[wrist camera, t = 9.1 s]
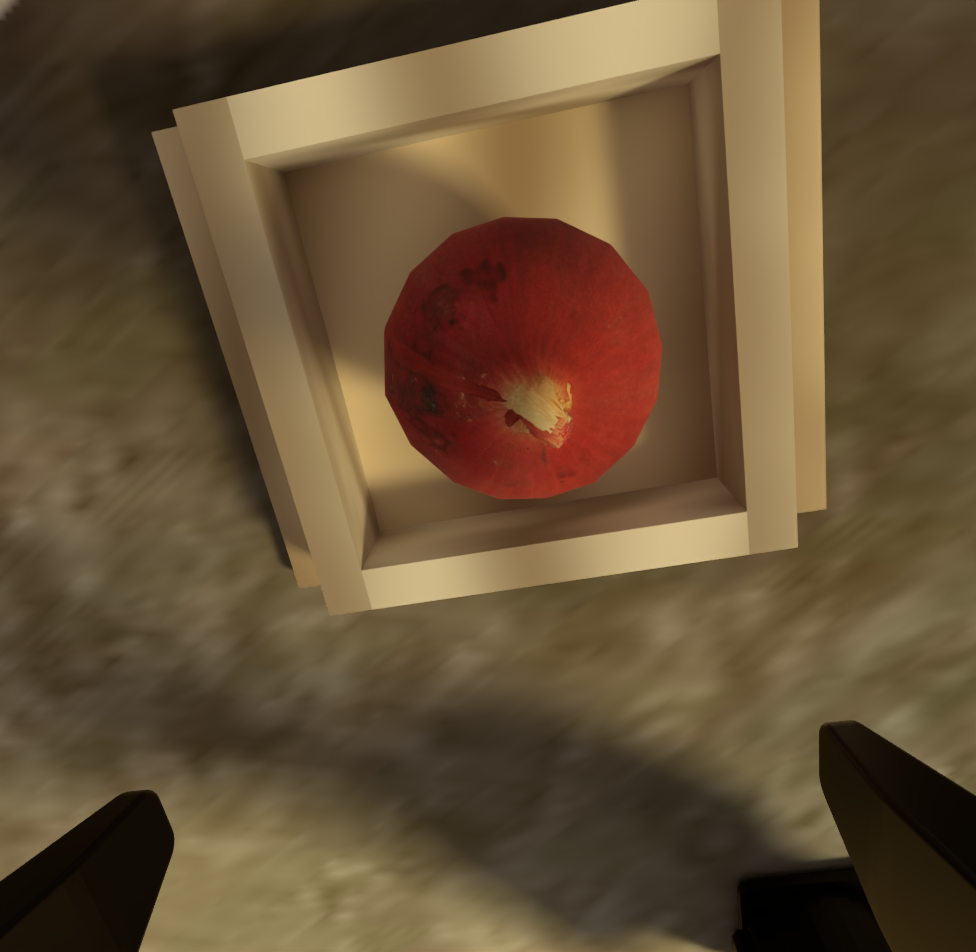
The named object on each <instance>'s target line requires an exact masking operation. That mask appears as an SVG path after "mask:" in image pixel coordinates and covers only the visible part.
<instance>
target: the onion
mask: <svg viewBox="0 0 976 952" xmlns="http://www.w3.org/2000/svg"><path fill="white" fill-rule="evenodd" d="M661 356H662V343H661V339H660V335H659V331H658V327H657V323H656V319H655V315H654V311H653V308H652V304H651V300H650V296H649V292H648V290H647V289H646V288H645V286H644V285H643V284H642V283H641V281H640V280H639V279H638V278H637V276H636V275H635V274H634V273H633V271H632V270H631V269H630V268H629V266H628V265H627V264H626V263H625V261H624V260H623V259H622V258H621V256H620V255H619V254H618V252H617V251H616V250H615V249H614V247H613V246H612V245H611V244H609V243H607V242H605V241H603V240H601V239H599V238H597V237H595V236H592V235H590V234H588V233H586V232H584V231H582V230H580V229H578V228H576V227H574V226H572V225H569V224H567V223H565V222H563V221H561V220H559V219H556V218H525V217H501V218H498V219H495V220H492V221H489V222H486V223H483V224H480V225H477V226H474V227H471V228H468V229H465V230H462V231H459V232H456V233H453V234H451V235H450V236H449V237H448V238H447V239H446V240H445V241H444V242H443V243H441V244H440V245H439V246H438V247H437V248H436V249H435V250H434V251H433V252H432V253H431V254H429V255H428V256H427V257H426V258H425V259H424V260H423V261H422V262H421V263H420V264H419V265H417V266H416V267H415V268H414V269H413V270H412V271H411V272H410V273H409V276H408V278H407V280H406V282H405V284H404V286H403V289H402V291H401V293H400V295H399V297H398V299H397V302H396V304H395V306H394V308H393V310H392V312H391V315H390V317H389V319H388V321H387V323H386V325H385V330H384V371H385V396H386V398H387V400H388V402H389V404H390V406H391V408H392V410H393V412H394V414H395V416H396V418H397V419H398V421H399V423H400V425H401V427H402V429H403V431H404V433H405V435H406V437H407V439H408V441H409V443H410V445H411V446H412V447H414V448H415V449H416V450H417V451H418V452H419V453H421V454H422V455H423V456H424V457H425V458H426V459H427V460H429V461H430V462H431V463H432V464H433V465H434V466H436V467H437V468H438V469H439V470H440V471H441V472H443V473H444V474H445V475H446V476H447V477H448V478H449V479H451V480H452V481H453V482H454V483H456V484H459V485H462V486H464V487H467V488H470V489H473V490H475V491H478V492H481V493H484V494H486V495H489V496H492V497H495V498H497V499H533V498H549V497H552V496H555V495H558V494H561V493H565V492H568V491H571V490H574V489H577V488H580V487H583V486H586V485H589V484H592V483H595V482H596V481H597V480H598V479H599V478H600V477H601V476H602V475H603V474H604V473H605V472H606V471H607V470H609V469H610V468H611V467H612V466H613V465H614V464H615V463H616V462H617V461H618V460H619V459H620V458H621V457H623V456H624V455H625V454H626V453H627V452H628V451H629V450H630V449H631V448H632V447H633V446H634V445H635V443H636V441H637V439H638V437H639V435H640V433H641V431H642V429H643V427H644V425H645V423H646V421H647V419H648V417H649V415H650V413H651V411H652V409H653V407H654V405H655V403H656V401H657V396H658V386H659V376H660V366H661Z"/></svg>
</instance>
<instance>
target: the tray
mask: <svg viewBox="0 0 976 952" xmlns="http://www.w3.org/2000/svg"><path fill="white" fill-rule="evenodd" d="M173 114H174V117H175V120H176V123H177V126H176V127H172V128H167V129H163V130H159V131H155V132H151V133H152V136H153V139H154V142H155V145H156V149H157V152H158V155H159V158H160V161H161V164H162V167H163V170H164V173H165V176H166V179H167V182H168V185H169V189H170V192H171V195H172V198H173V201H174V204H175V207H176V210H177V213H178V216H179V219H180V222H181V226H182V229H183V232H184V235H185V238H186V241H187V244H188V247H189V250H190V253H191V256H192V259H193V263H194V266H195V269H196V272H197V275H198V278H199V281H200V284H201V287H202V290H203V293H204V296H205V299H206V303H207V306H208V309H209V312H210V315H211V318H212V321H213V324H214V327H215V330H216V333H217V336H218V340H219V343H220V346H221V349H222V352H223V355H224V358H225V361H226V364H227V367H228V370H229V373H230V377H231V380H232V383H233V386H234V389H235V392H236V395H237V398H238V401H239V404H240V407H241V410H242V413H243V417H244V420H245V423H246V426H247V429H248V432H249V435H250V438H251V441H252V444H253V447H254V450H255V454H256V457H257V460H258V463H259V466H260V469H261V472H262V475H263V478H264V481H265V484H266V487H267V491H268V494H269V497H270V500H271V503H272V506H273V509H274V512H275V515H276V518H277V521H278V524H279V527H280V531H281V534H282V537H283V540H284V543H285V546H286V549H287V552H288V555H289V558H290V561H291V564H292V568H293V571H294V574H295V577H296V580H297V583H298V586H299V588H306V587H313V586H319V585H321V589H322V592H323V595H324V598H325V602H326V605H327V608H328V611H329V614H330V616H331V615H338V614H345V613H352V612H359V611H365V610H372V609H379V608H386V607H393V606H400V605H407V604H413V603H420V602H427V601H434V600H441V599H448V598H455V597H461V596H468V595H475V594H482V593H489V592H496V591H503V590H509V589H516V588H523V587H530V586H537V585H544V584H551V583H557V582H564V581H571V580H578V579H585V578H592V577H598V576H605V575H612V574H619V573H626V572H633V571H640V570H646V569H653V568H660V567H667V566H674V565H681V564H688V563H694V562H701V561H708V560H715V559H722V558H729V557H736V556H742V555H749V554H756V553H763V552H770V551H777V550H784V549H790V548H797V547H798V534H797V513H802V512H809V511H816V510H822V509H826V447H825V376H824V305H823V234H822V162H821V91H820V20H819V0H637V1H633V2H629V3H625V4H620V5H616V6H612V7H608V8H603V9H599V10H595V11H591V12H586V13H582V14H578V15H574V16H569V17H565V18H561V19H557V20H552V21H548V22H544V23H539V24H535V25H531V26H527V27H522V28H518V29H514V30H510V31H505V32H501V33H497V34H493V35H488V36H484V37H480V38H476V39H471V40H467V41H463V42H459V43H454V44H450V45H446V46H441V47H437V48H433V49H429V50H424V51H420V52H416V53H412V54H407V55H403V56H399V57H395V58H390V59H386V60H382V61H378V62H373V63H369V64H365V65H361V66H356V67H352V68H348V69H343V70H339V71H335V72H331V73H326V74H322V75H318V76H314V77H309V78H305V79H301V80H297V81H292V82H288V83H284V84H280V85H275V86H271V87H267V88H263V89H258V90H254V91H250V92H245V93H241V94H237V95H233V96H228V97H224V98H220V99H216V100H211V101H207V102H203V103H199V104H194V105H190V106H186V107H182V108H177V109H173ZM501 217H525V218H556V219H559V220H561V221H563V222H565V223H567V224H569V225H572V226H574V227H576V228H578V229H580V230H582V231H584V232H586V233H588V234H590V235H592V236H595V237H597V238H599V239H601V240H603V241H605V242H607V243H609V244H611V245H612V246H613V247H614V249H615V250H616V251H617V252H618V254H619V255H620V256H621V258H622V259H623V260H624V261H625V263H626V264H627V265H628V266H629V268H630V269H631V270H632V271H633V273H634V274H635V275H636V276H637V278H638V279H639V280H640V281H641V283H642V284H643V285H644V286H645V288H646V289H647V290H648V292H649V296H650V300H651V304H652V308H653V311H654V315H655V319H656V323H657V327H658V331H659V335H660V339H661V343H662V356H661V366H660V376H659V386H658V396H657V401H656V403H655V405H654V407H653V409H652V411H651V413H650V415H649V417H648V419H647V421H646V423H645V425H644V427H643V429H642V431H641V433H640V435H639V437H638V439H637V441H636V443H635V445H634V446H633V447H632V448H631V449H630V450H629V451H628V452H627V453H626V454H625V455H624V456H623V457H621V458H620V459H619V460H618V461H617V462H616V463H615V464H614V465H613V466H612V467H611V468H610V469H609V470H607V471H606V472H605V473H604V474H603V475H602V476H601V477H600V478H599V479H598V480H597V481H596V482H595V483H592V484H589V485H586V486H583V487H580V488H577V489H574V490H571V491H568V492H565V493H561V494H558V495H555V496H552V497H549V498H533V499H497V498H495V497H492V496H489V495H486V494H484V493H481V492H478V491H475V490H473V489H470V488H467V487H464V486H462V485H459V484H456V483H454V482H453V481H452V480H451V479H449V478H448V477H447V476H446V475H445V474H444V473H443V472H441V471H440V470H439V469H438V468H437V467H436V466H434V465H433V464H432V463H431V462H430V461H429V460H427V459H426V458H425V457H424V456H423V455H422V454H421V453H419V452H418V451H417V450H416V449H415V448H414V447H412V446H411V445H410V443H409V441H408V439H407V437H406V435H405V433H404V431H403V429H402V427H401V425H400V423H399V421H398V419H397V418H396V416H395V414H394V412H393V410H392V408H391V406H390V404H389V402H388V400H387V398H386V396H385V371H384V330H385V325H386V323H387V321H388V319H389V317H390V315H391V312H392V310H393V308H394V306H395V304H396V302H397V299H398V297H399V295H400V293H401V291H402V289H403V286H404V284H405V282H406V280H407V278H408V276H409V273H410V272H411V271H412V270H413V269H414V268H415V267H416V266H417V265H419V264H420V263H421V262H422V261H423V260H424V259H425V258H426V257H427V256H428V255H429V254H431V253H432V252H433V251H434V250H435V249H436V248H437V247H438V246H439V245H440V244H441V243H443V242H444V241H445V240H446V239H447V238H448V237H449V236H450V235H451V234H453V233H456V232H459V231H462V230H465V229H468V228H471V227H474V226H477V225H480V224H483V223H486V222H489V221H492V220H495V219H498V218H501Z"/></svg>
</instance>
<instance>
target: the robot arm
mask: <svg viewBox="0 0 976 952" xmlns="http://www.w3.org/2000/svg"><path fill="white" fill-rule="evenodd" d="M819 777H820V783H821V787H822V790H823V793H824V796H825V798H826V801H827V803H828V806H829V808H830V810H831V813H832V815H833V818H834V820H835V823H836V825H837V827H838V830H839V832H840V835H841V837H842V839H843V842H844V844H845V847H846V849H847V851H848V854H849V856H850V859H851V861H852V863H853V866H854V868H855V869H849V870H839V871H828V872H818V873H808V874H797V875H787V876H776V877H766V878H756V879H748V880H744V881H742V882H741V883H740V884H739V885H738V886H737V899H738V911H739V923H740V929H735V931H734V933H733V935H732V944H733V952H976V796H975V795H974V794H972V793H971V792H969V791H967V790H966V789H964V788H963V787H961V786H959V785H958V784H956V783H955V782H953V781H951V780H950V779H948V778H947V777H945V776H944V775H942V774H940V773H939V772H937V771H936V770H934V769H932V768H931V767H929V766H928V765H926V764H924V763H923V762H921V761H920V760H918V759H916V758H915V757H913V756H912V755H910V754H909V753H907V752H905V751H904V750H902V749H901V748H899V747H897V746H896V745H894V744H893V743H891V742H889V741H888V740H886V739H885V738H883V737H881V736H880V735H878V734H877V733H875V732H873V731H872V730H870V729H869V728H867V727H866V726H864V725H862V724H861V723H859V722H856V721H850V720H849V721H839V722H829V723H824V724H823V725H822V726H821V727H820V730H819ZM173 849H174V833H173V830H172V827H171V825H170V823H169V820H168V818H167V816H166V813H165V811H164V809H163V806H162V804H161V801H160V799H159V797H158V795H157V794H156V793H155V792H154V791H151V790H140V791H130V792H125V793H122V794H120V795H119V796H117V797H116V798H114V799H113V800H112V801H110V802H109V803H107V804H106V805H105V806H103V807H102V808H101V809H99V810H98V811H96V812H95V813H94V814H92V815H91V816H90V817H88V818H87V819H85V820H84V821H83V822H81V823H80V824H79V825H77V826H76V827H74V828H73V829H72V830H70V831H69V832H68V833H66V834H65V835H63V836H62V837H61V838H59V839H58V840H57V841H55V842H54V843H52V844H51V845H50V846H48V847H47V848H46V849H44V850H43V851H41V852H40V853H39V854H37V855H36V856H35V857H33V858H32V859H30V860H29V861H28V862H26V863H25V864H24V865H22V866H21V867H19V868H18V869H17V870H15V871H14V872H13V873H11V874H10V875H8V876H7V877H6V878H4V879H3V880H2V881H0V952H139V949H140V946H141V943H142V940H143V937H144V934H145V931H146V929H147V926H148V923H149V920H150V917H151V914H152V911H153V908H154V905H155V903H156V900H157V897H158V894H159V891H160V888H161V885H162V882H163V879H164V876H165V874H166V871H167V868H168V865H169V862H170V859H171V856H172V853H173Z"/></svg>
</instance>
